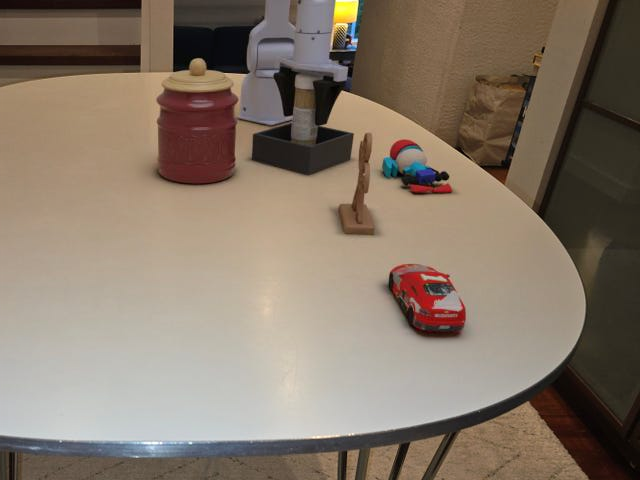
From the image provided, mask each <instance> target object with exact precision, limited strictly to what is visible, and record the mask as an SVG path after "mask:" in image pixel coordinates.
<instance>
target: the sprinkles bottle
mask: <svg viewBox="0 0 640 480" xmlns="http://www.w3.org/2000/svg"><path fill="white" fill-rule="evenodd" d="M321 79H322V80H323V77H319V76H314V75H309V74H305V73H300V74H297V75H296V78H295V87H296V88H295V100H294V109H293V118H292V120H291V123H292V128H291V142H294V143H298V144H303V145H307V146H313V145H315V143H316V138H317V130H318V126H317V125H315V108H316V100H315V91H314V87H313V81H315V80H321Z"/></svg>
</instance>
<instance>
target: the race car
mask: <svg viewBox="0 0 640 480" xmlns="http://www.w3.org/2000/svg"><path fill="white" fill-rule="evenodd" d="M450 277H451V276H450V274H449V273H446V274H445V273H444V272H441V271H438V270H436V269H435V268H433V267H430V266H428V265H423V264H420V263H404V264H399V265H397V266H395V267H393V268H392V269H391V270H390V272H389V274H388V289H389V291H392V292H393V294H394V296H395V297H396V299H397V302H398V303H399V304H400V306H401V308H402V309H403V311H404V313H405V315H407V322H408V325H411V326H413V327H415V328H416V329H418V330H421V331H428V332H429V333H431V332H432V333H433V332H454V333H459V331H463V330H464V327H465V323H466V320H467V312H466V306H465V304H464V302H463V300H462V299H461V297H460V295H459V294H458V291H457V290H456V288H455V286H454V285H453V282H452V281H451V280H450Z"/></svg>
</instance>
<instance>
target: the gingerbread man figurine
mask: <svg viewBox="0 0 640 480" xmlns="http://www.w3.org/2000/svg"><path fill="white" fill-rule="evenodd" d="M372 149H373V134H372V132H365V133H364V135H363V140H361V141H360V143H359V148H358V160H357V161H358V163H357V164H358V176H357V184H356V187H355V190H354V195H353V198H352V203H339V205H338V213H339V214H338V215H339V217H340V220H341V225H342V229H343V232H344V234H347V235H348V234H349V235H350V234H351V235H375V231H376V227H375V224H374V222H373V219H372V216H371V214H370V210H369V208H368V206H367V204H366V203H365V194H368V193H369V188H370V181H371V180H370V179H371V166H370V162H369V161H370V159H371V156H372V155H371V154H372Z"/></svg>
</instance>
